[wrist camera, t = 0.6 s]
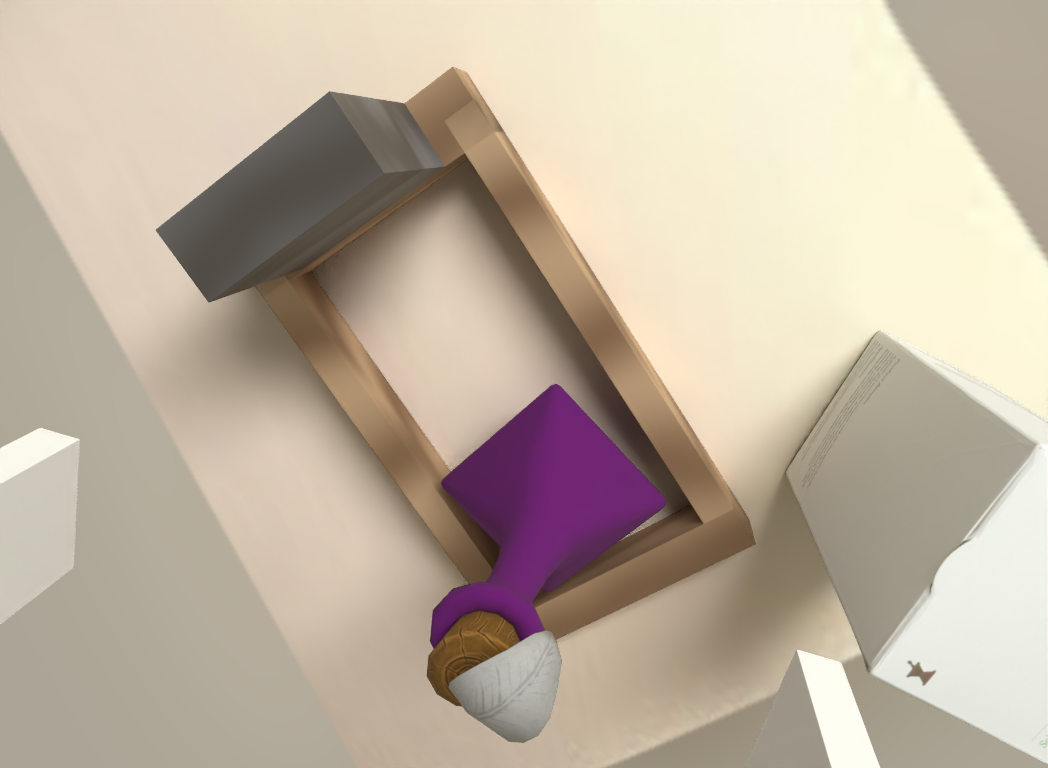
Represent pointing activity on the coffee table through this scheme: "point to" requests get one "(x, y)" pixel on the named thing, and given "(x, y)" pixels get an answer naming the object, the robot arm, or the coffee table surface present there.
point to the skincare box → (937, 536)
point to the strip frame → (351, 375)
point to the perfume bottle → (529, 556)
